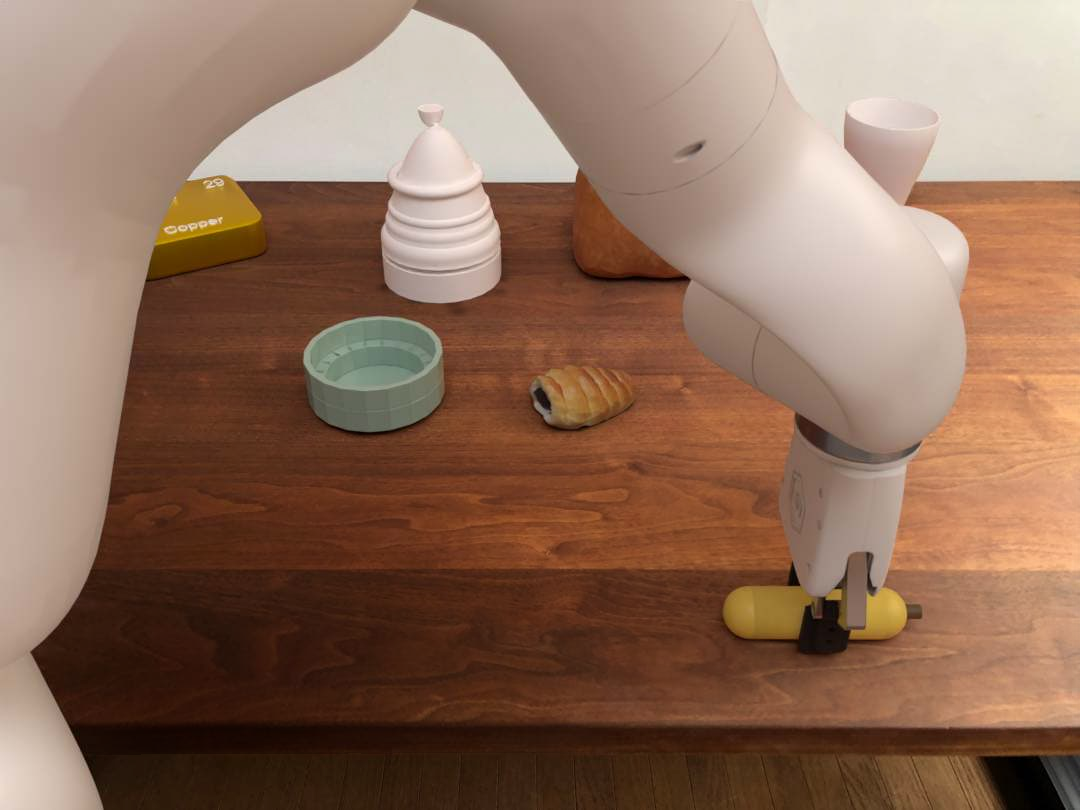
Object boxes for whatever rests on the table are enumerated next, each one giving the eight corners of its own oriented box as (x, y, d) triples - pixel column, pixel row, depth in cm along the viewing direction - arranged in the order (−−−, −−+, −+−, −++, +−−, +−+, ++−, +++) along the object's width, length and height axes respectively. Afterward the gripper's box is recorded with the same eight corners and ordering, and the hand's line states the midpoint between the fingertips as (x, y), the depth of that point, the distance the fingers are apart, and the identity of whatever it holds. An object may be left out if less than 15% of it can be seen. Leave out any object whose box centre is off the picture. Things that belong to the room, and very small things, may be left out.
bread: (571, 219, 127) (574, 80, 118) (748, 220, 127) (767, 82, 118) (573, 289, 113) (577, 138, 103) (773, 291, 113) (796, 141, 103)
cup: (927, 242, 123) (954, 130, 115) (837, 241, 123) (858, 129, 115) (903, 204, 131) (926, 97, 124) (818, 203, 131) (836, 97, 124)
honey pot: (375, 254, 120) (361, 99, 109) (485, 241, 122) (481, 88, 112) (394, 310, 109) (380, 144, 99) (514, 294, 112) (513, 131, 102)
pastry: (614, 376, 100) (616, 342, 97) (649, 415, 95) (652, 380, 92) (523, 399, 96) (523, 364, 94) (555, 440, 92) (555, 405, 89)
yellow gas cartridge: (725, 649, 72) (729, 606, 70) (717, 617, 75) (721, 575, 74) (924, 650, 72) (933, 607, 70) (907, 618, 75) (915, 576, 74)
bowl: (397, 452, 90) (392, 404, 87) (282, 413, 94) (274, 367, 92) (468, 381, 99) (467, 335, 96) (361, 349, 103) (356, 304, 100)
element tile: (136, 285, 114) (126, 245, 111) (108, 230, 124) (99, 192, 121) (272, 254, 120) (266, 215, 117) (234, 204, 130) (228, 168, 127)
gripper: (772, 338, 70) (741, 543, 80) (829, 504, 56) (782, 724, 67) (886, 338, 70) (840, 543, 80) (970, 504, 56) (901, 723, 67)
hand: (814, 623), depth 73 cm, fingers closed on yellow gas cartridge, 3 cm apart
